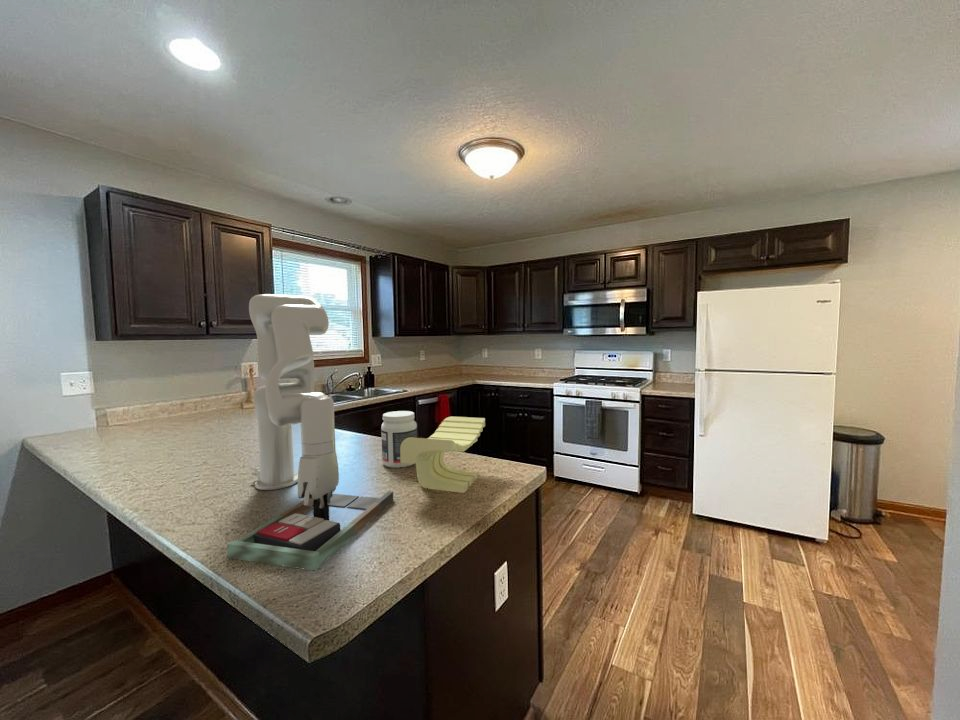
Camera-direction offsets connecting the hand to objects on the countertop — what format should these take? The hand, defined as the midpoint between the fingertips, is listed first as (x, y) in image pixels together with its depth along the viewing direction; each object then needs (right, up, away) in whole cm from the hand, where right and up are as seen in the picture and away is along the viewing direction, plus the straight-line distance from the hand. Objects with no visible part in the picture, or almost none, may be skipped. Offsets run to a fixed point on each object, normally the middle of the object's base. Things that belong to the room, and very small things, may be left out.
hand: (321, 521), depth 94 cm
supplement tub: (+9, +1, +47) cm, 48 cm away
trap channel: (0, -1, 0) cm, 1 cm away
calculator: (-2, -2, -7) cm, 8 cm away
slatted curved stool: (+28, +1, +28) cm, 40 cm away
